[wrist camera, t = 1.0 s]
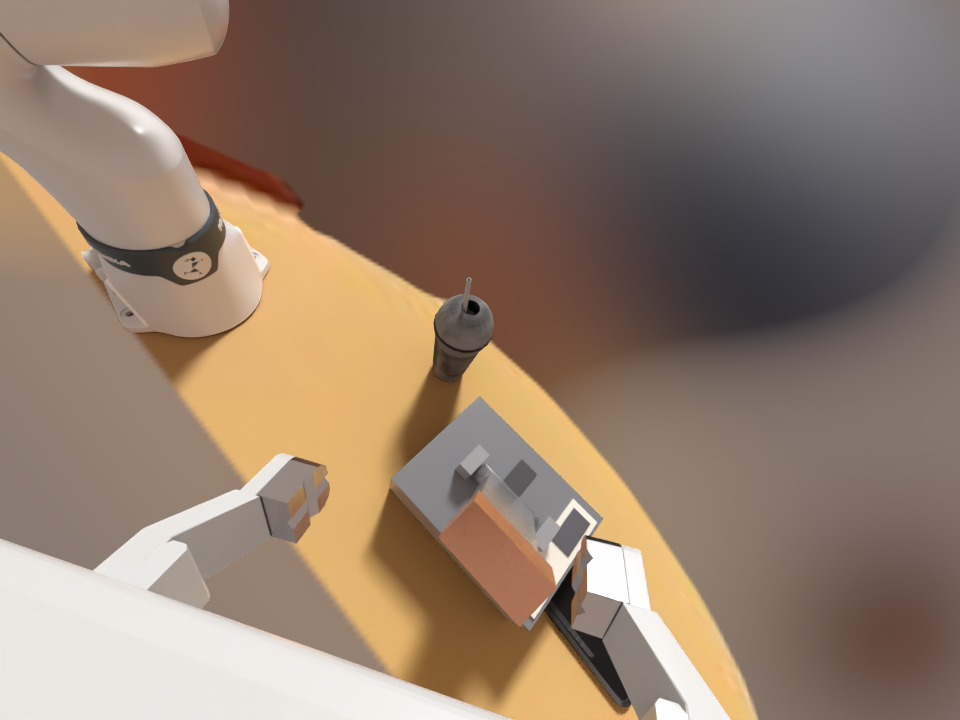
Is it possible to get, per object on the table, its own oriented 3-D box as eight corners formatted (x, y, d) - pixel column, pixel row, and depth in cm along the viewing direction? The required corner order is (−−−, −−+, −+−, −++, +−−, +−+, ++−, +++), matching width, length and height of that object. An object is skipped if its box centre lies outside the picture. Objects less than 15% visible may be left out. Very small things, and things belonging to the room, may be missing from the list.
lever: (469, 478, 41) (432, 531, 23) (490, 457, 41) (468, 494, 23) (522, 533, 40) (525, 634, 22) (543, 512, 40) (562, 594, 22)
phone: (573, 542, 47) (662, 650, 43) (569, 542, 48) (655, 648, 44) (531, 592, 43) (625, 714, 40) (528, 591, 44) (619, 710, 41)
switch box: (389, 488, 45) (392, 472, 36) (467, 414, 52) (485, 386, 43) (508, 620, 42) (541, 637, 33) (575, 522, 48) (617, 516, 40)
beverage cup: (472, 392, 53) (516, 316, 36) (421, 388, 52) (443, 305, 35) (472, 349, 57) (513, 259, 40) (425, 343, 55) (446, 248, 38)
